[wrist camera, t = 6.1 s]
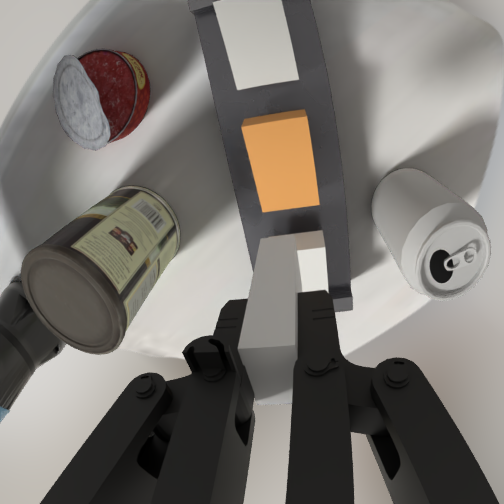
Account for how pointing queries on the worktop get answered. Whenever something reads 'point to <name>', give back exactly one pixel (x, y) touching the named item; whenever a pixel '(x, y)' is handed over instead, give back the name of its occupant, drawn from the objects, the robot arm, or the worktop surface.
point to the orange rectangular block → (282, 160)
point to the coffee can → (101, 268)
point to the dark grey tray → (321, 132)
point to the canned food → (100, 96)
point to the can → (431, 234)
